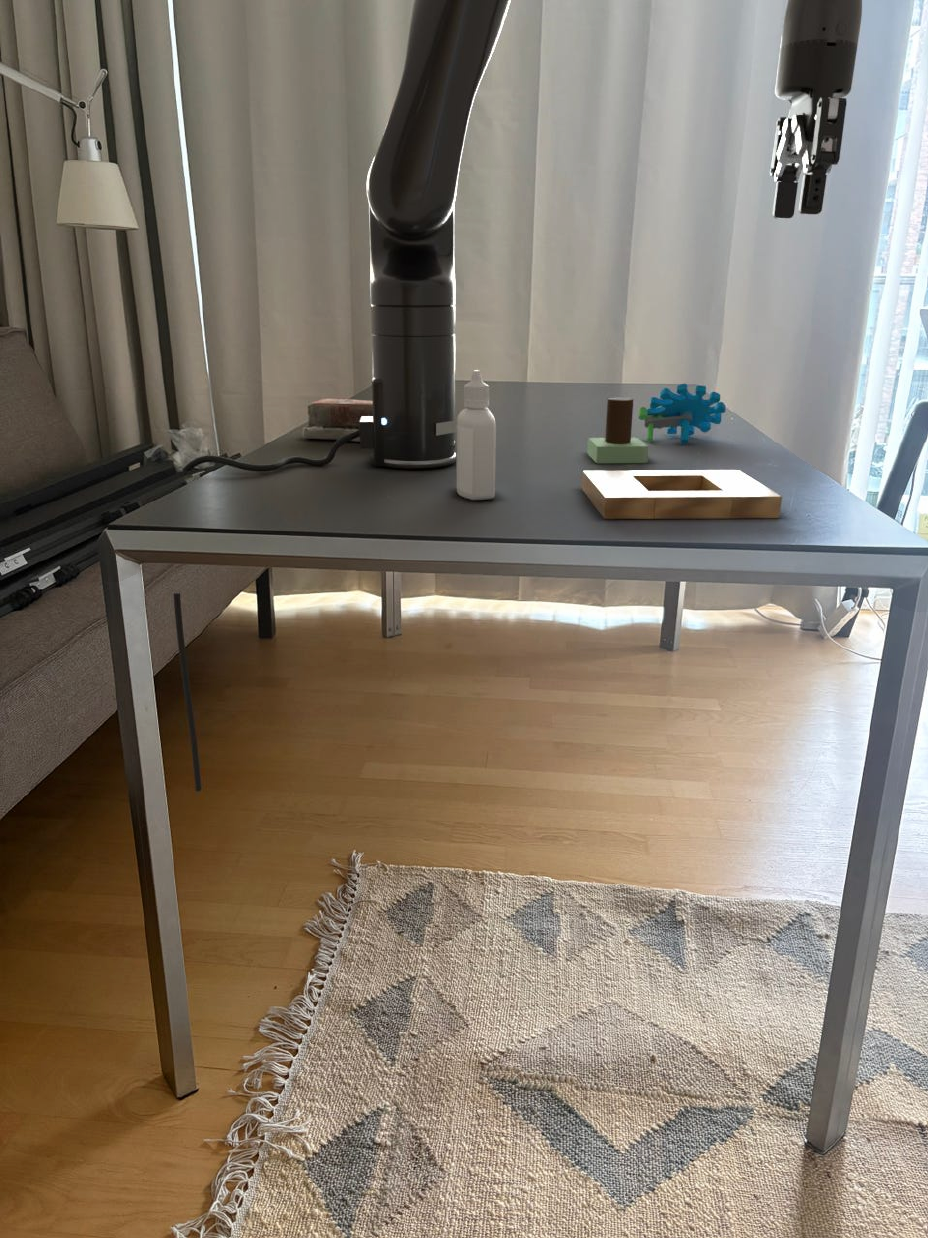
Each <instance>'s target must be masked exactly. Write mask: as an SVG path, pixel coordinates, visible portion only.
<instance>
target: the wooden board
mask: <svg viewBox="0 0 928 1238" xmlns="http://www.w3.org/2000/svg"><path fill="white" fill-rule="evenodd" d="M581 488H582V489H581V490H582V491H583V493H584V494H585V495H586V496H587V498H588V500H589V501H590V502H591V504H592V505H593V506H594V508H595V509H596V510H597V512H599V514H600V515H601V516H602V518H603V519H604V520H691V519H693V520H699V519H704V520H705V519H780V516H781V508H782V500H783V496H782V495H780V494H778V493H777V492H775V491H774V490H772V489H771V488H769V487H767V486H766V485H764V484H762V482H759V481H757V480H756V479H754V478H753V477H751V476H749V475H748V474H746V473H745V472H743V471H742V470H740V469H696V470H695V469H693V470H689V469H686V470H685V469H683V470H678V469H676V470H672V469H671V470H667V469H666V470H661V469H659V470H582V487H581Z"/></svg>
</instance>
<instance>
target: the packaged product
mask: <svg viewBox="0 0 928 1238" xmlns="http://www.w3.org/2000/svg"><path fill="white" fill-rule="evenodd" d="M307 415H308V425H307V426H306V427H305V426H303V429H302V432H301V433H302V438H303V439H308V440H319V441H320V440H321V441H335V442H336V441H337V440H339V439H340V438H342V437H344V436H346V435H348V434H350V433H353V432H355V431H357V430H360V427H359V422H360V419H361V417H362V416H373V404H372V400H368V399H367V400H364V399H346V398H344V399H343V398H325V397H324V398H321V399H318V400H315V401H313V402H311V403H309V404H308V406H307ZM349 442H354V443H360V437H357V438H355V439H353V440H350V441H349Z"/></svg>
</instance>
